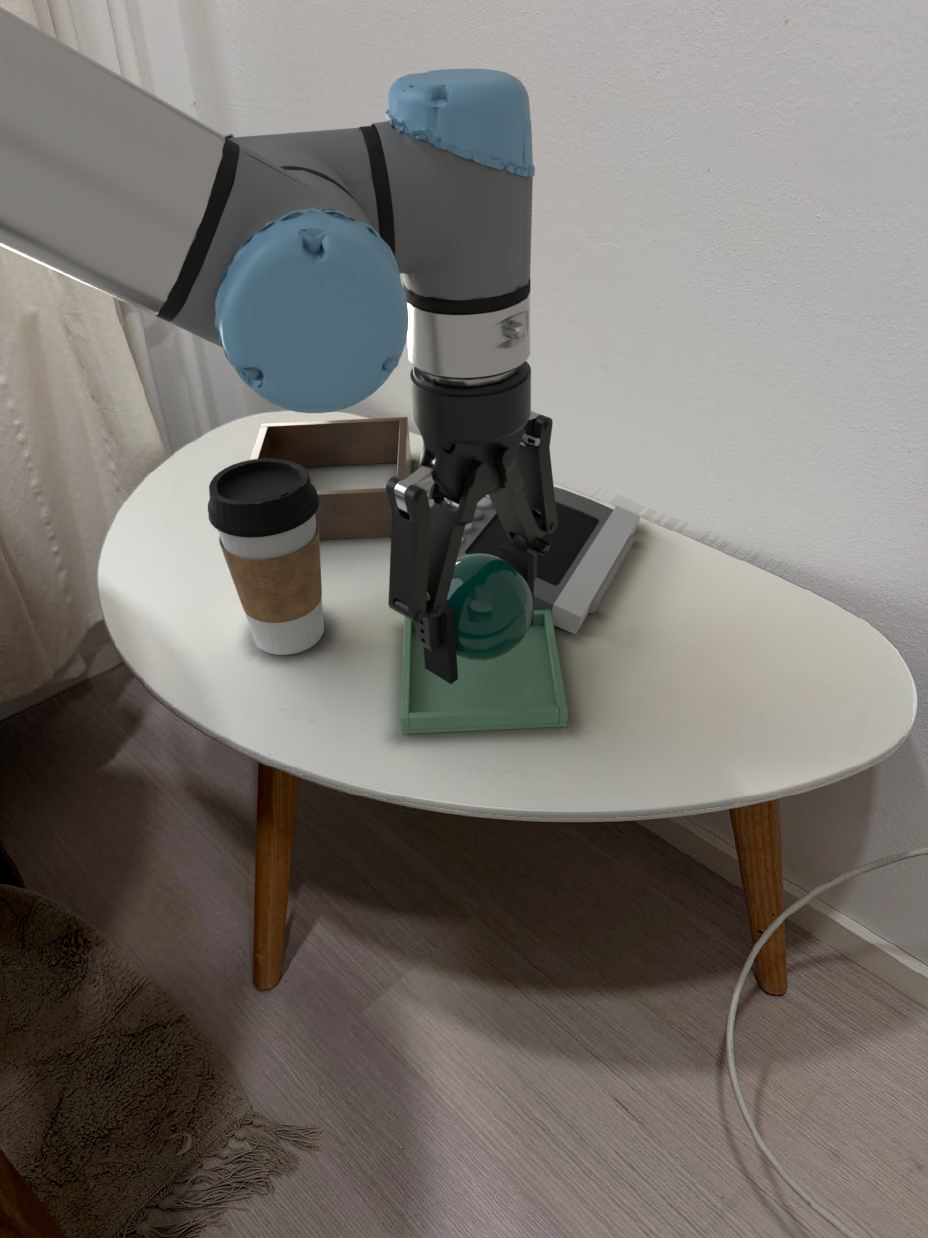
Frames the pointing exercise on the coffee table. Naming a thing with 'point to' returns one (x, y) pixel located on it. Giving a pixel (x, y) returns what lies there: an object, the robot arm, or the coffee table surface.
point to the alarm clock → (565, 553)
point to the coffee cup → (272, 549)
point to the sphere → (488, 606)
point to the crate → (343, 446)
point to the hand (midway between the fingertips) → (480, 645)
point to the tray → (486, 687)
